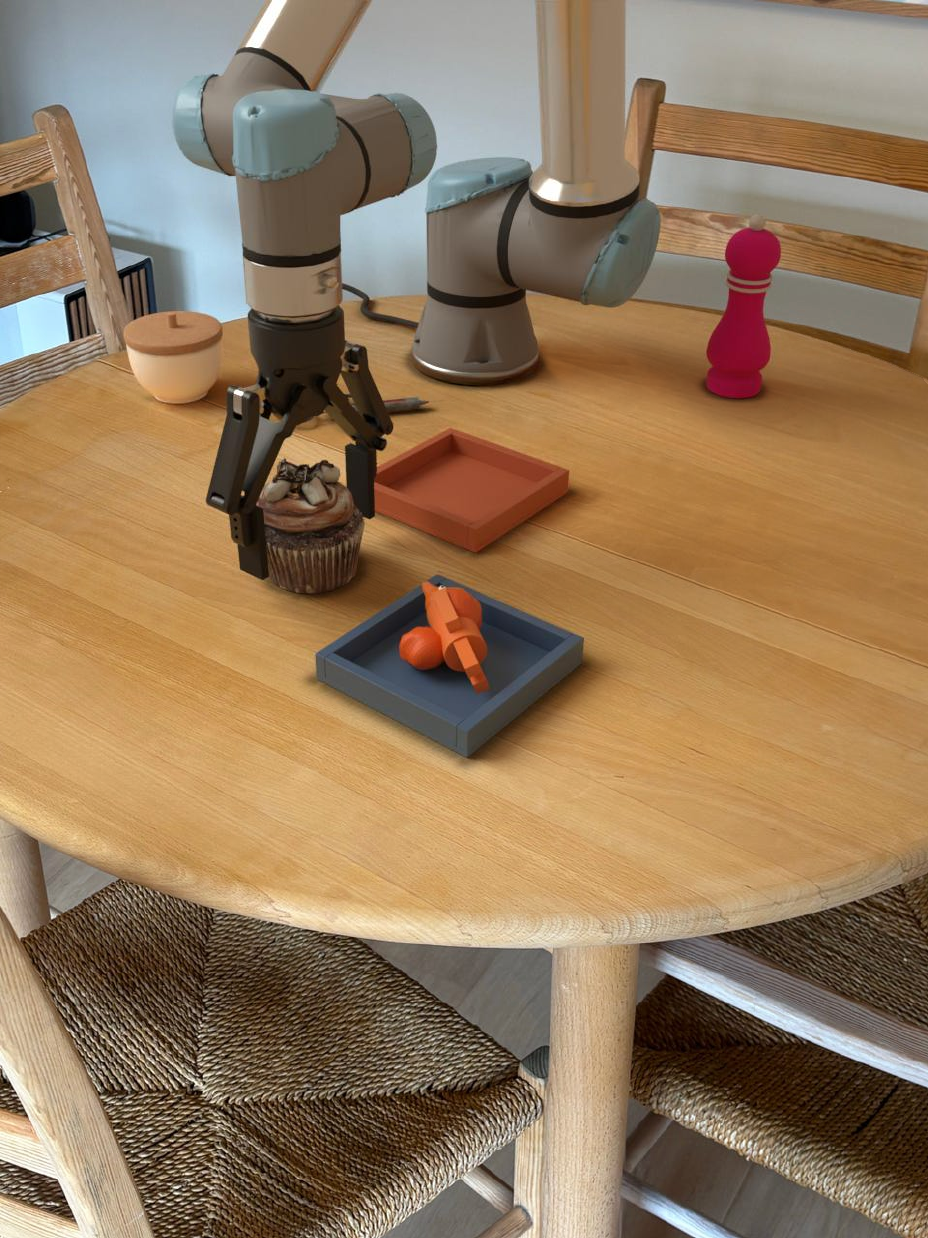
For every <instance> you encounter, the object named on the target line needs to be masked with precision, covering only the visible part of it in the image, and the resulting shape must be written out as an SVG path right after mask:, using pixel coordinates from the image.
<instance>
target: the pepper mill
mask: <svg viewBox="0 0 928 1238" xmlns="http://www.w3.org/2000/svg"><path fill="white" fill-rule="evenodd" d="M766 222H767V220H766V217H764V216H763V215H761V214H754V215H752V216H751V217H750V219H749V221H748V226H749V227H745V228H742V229H740V230H738V231H736V232H735V233H734V234H732V235H731V236H730V238H729V240H728V241H727V243H726V247H725V250H724V260H725V263H726V264H727V266H728V267H729V270H727V272H726V280H725V285H726V287H727V288H728V298H727V302H726V303H727V304H726V307H725V310H724V313H723V315H722V317H721V319H720V320H719V322H718V323H717V325H716V326H715V328H714V330H713V331H712V333H711V335H710V337H709V339H708V342H707V346H706V350H705V354H706V355H705V356H706V358H707V361H708V362H709V364H710V365H711V366H712V367H710V368H709V369H708V370H707V376H706V384H705V385H706V389H707V390H708V391H710V392H711V393H713V394H715V395H717V396H720V397H723V398H731V399H748V398H752V397H755V396H757V395H758V394H759V393H760V391H761V390H762V382H763V375H762V372H761V371H762V370H763V369H764V368H765V367H766V366H767V365H768V364H769V362H770V359H771V353H772V351H771V350H772V345H771V338H770V336H769V332H768V328H767V324H766V321H765V316H764V307H765V306H764V304H765V298H766V294H767V292H769V291H770V290H771V288H772V281H773V278H774V277H773V275H772V272H773V270H775V269H776V268H777V267H778V265H779V264H780V261H781V258H782V247H781V243H780V240H779V239H778V237H777V236H776V235H775V234H774V233H773V232H771V231H770V230H768V229H765V228H766V225H767V223H766Z"/></svg>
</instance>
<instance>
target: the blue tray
mask: <svg viewBox="0 0 928 1238" xmlns="http://www.w3.org/2000/svg"><path fill="white" fill-rule="evenodd" d="M426 581H428V582H430V583H431V584H432V585H434V586H436V587H440V586H445V587H459V588H462V589H464V590H465V591H466V592H468V593H469V594H470V595H472V596H473V598H475V599H476V600H478V601H479V603H480V605H481V609H482V625H481V627H480V629H479V631H480V633H481V635H482V637H483V639H484V641H485V643H486V646H487V654H486V657H485V659H484V660H483V662H482V663H481V664H480V666H481V669H482V671H483V673H484V675H485V677H486V679H487V682H488V684H489V687H490V689H489V690H486V691H484V692H482V693H479V694H476V691H475V689H474V687H473V685H472V682H471V680H470V678H468V676H467V674H466V671H455V670H453V669H451V668H450V667H449V666H448V665H447V664H446V662H445V660H444V661H443V662H442V663H441V664H440V665H439V666H437V667H435V668H432V669H428V670H419V669H417V668H415V667H413V666H410V665H408V664H407V663H406V662H405V661H404V660H403V659H402V658H401V657H400V650H399V645H400V642H401V639H402V636H403V635H404V634H406V633H408V632H410V631H411V630H413V629H414V628H416V627H430V624H429V622H428V619H427V611H426V608H425V602H426V597H425V595H424V592H423V590H422V583H421V584H419V585H418V586H417V587H415V588H413V589H412V590H410V591H409V592H407V593H406V594H404V595H402V596H401V597H400V598H398V599H396V600H395V601H393V602H392V603H390V604H389V605H387V606H386V607H385V608H383V609H381V610H380V611H378V612H377V613H375V614H373V615H372V616H370V617H369V618H367V619H366V620H364V621H363V622H361V623H360V624H359V625H357V626H355V627H353V628H352V629H351V630H349V631H348V632H346V633H344V634H343V635H341V636H340V637H339V638H337V639H335V640H334V641H332V642H331V643H329V644H328V645H326V646H324V647H323V648H322V649H320V650H318V651H317V652H315V654H314V658H315V670H316V680H318V681H319V682H321V683H324V684H326V685H327V686H329V687H330V688H333V689H335V690H336V691H339V692H341V693H342V694H344V695H347V696H348V697H350V698H352V699H354V700H356V701H358V702H360V703H361V704H364V705H366V706H367V707H369V708H371V709H372V710H375V711H377V712H379V713H381V714H383V716H387V717H388V718H390V719H392V720H394V721H396V722H398V723H400V724H402V725H404V726H405V727H406V728H407V727H408V728H409V729H412V730H413V731H415V732H417V733H419V734H420V735H422V736H425V737H427V738H428V739H431V740H433V742H436V743H438V744H440V745H442V746H444V747H446V748H447V749H449V750H451V751H453V752H455V753H457V754H459V755H461V756H462V757H464V758H466V759H467V758H470V757H471V756H472V754H474V753H475V752H476V751H478V750H479V749H480V748H481V747H482V746H484V745H485V744H486V743H487V742H489V740H491V739H492V738H493V737H494V736H495V735H497V734H498V733H499V732H500V731H502V730H503V729H504V728H505V727H506V726H508V725H509V724H510V723H511V722H512V721H514V720H515V719H516V718H517V717H519V716H520V715H521V714H523V712H525V711H526V710H527V709H529V708H530V707H531V706H532V705H533V704H534V703H535V702H537V701H538V700H539V699H540V698H542V697H543V696H544V695H545V694H547V693H548V692H549V691H550V690H551V689H553V687H555V686H556V685H558V684H559V683H560V682H561V681H562V680H564V678H566V677H567V676H568V675H570V674H571V673H572V672H573V671H574V670H575V669H577V668H578V667H579V666H580V665H582V664H583V658H584V645H585V637H583V636H581V635H579V634H577V633H574V632H571V631H570V630H567V629H565V628H562V627H560V626H557V625H555V624H553V623H551V622H549V621H547V620H545V619H542V618H540V617H537V616H536V615H532V614H530V613H528V612H526V611H523V610H521V609H519V608H517V607H514V606H512V605H510V604H508V603H505V602H503V601H501V600H498V599H496V598H493V597H491V596H489V595H487V594H485V593H482V592H480V591H478V590H476V589H473V588H470V587H468V586H466V585H463V584H461V583H459V582H457V581H454V580H452V579H450V578H448V577H446V576H444V575H441V574H439V573H436V574H435V575H434V576H432V577H430V578H429V579H427V580H426ZM430 628H431V627H430Z"/></svg>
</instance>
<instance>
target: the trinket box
mask: <svg viewBox="0 0 928 1238" xmlns="http://www.w3.org/2000/svg"><path fill="white" fill-rule="evenodd" d="M122 334H123V340H124V343H125V347H126V354H127V358H128V361H129V364H130V368H131V370H132V373H133V375H134V377H135V379H136V380H137V382H138V383H139V384H140V385H141V387H142V388H143V389H144V390H145V391H147V392H148V393H150V394H151V395H152V396H153V398H154V399H155V400H157V401H158V402H160V403H165V404H170V405H171V404H172V405H178V404H179V405H180V404H182V405H183V404H189V403H194V402H197V401H199V400H201V399H203V398H205V397H206V396H207V395H208V393H209V390H210V389H211V388H212V387H213V386H214V385H215V383H216V382H217V381H218V378H219V376H220V373H221V371H222V367H223V361H224V348H223V347H224V345H223V344H224V343H223V325H222V323H221V321H220V320H218V319H217V318H216V317H214V316H212V315H209V314H206V313H202V312H197V311H189V310H188V311H187V310H173V311H172V310H171V311H162V312H154V313H150V314H147V315H143V316H141V317H138V318H136V319H133V320H132V321H130V322H129V323H127V325H126V326H125V327H124V329H123V332H122Z"/></svg>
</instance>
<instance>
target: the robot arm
mask: <svg viewBox="0 0 928 1238" xmlns="http://www.w3.org/2000/svg"><path fill="white" fill-rule="evenodd" d="M373 1H374V0H265V2H264V4H263V5H262V7H261V9H260V10H259V12H258V14H257V15H256V17H255V19H254V20H253V22H252V24H251V25H250V27H249V29H248V31H247V32H246V34H245V36H244V38H243V39H242V40H241V42H240V44H239V46H238V48H237V50H236V52H235V54H234V55H233V57H232V58H231V60H230V61H229V63H228V65H227V67H226V68H225V69H224V72H223V73H222V74H221V75H219V74H218V73H209V74H208V75H206V74H199V75H197V76H194V77H192V78H191V79H190V80H188V81H185V83H183V84H182V86H181V87H180V89H179V90H178V93H177V94H176V97H175V99H174V103H173V107H172V111H171V112H172V114H171V125H172V132H173V136H174V140H175V142H176V145H177V147H178V149H179V150H180V152H181V153H182V154H183V156H184V157H185V158H186V159H187V160H188V161H190V162H191V163H192V164H194V165H196V166H198V167H200V168H204V169H207V170H209V171H213V172H215V173H219V174H222V175H224V176H227V177H235V183H236V194H237V204H238V213H239V221H240V222H239V223H240V232H241V233H240V234H241V247H242V263H243V264H242V266H243V276H244V290H245V291H244V292H245V304H247V306H248V307H249V308H250V309H249V311H248V313H247V325H248V338H249V348H250V353H251V355H252V357H253V359H254V361H255V363H256V365H257V369H258V372H257V377H256V380H255V384H252V385H248V386H245V387H241V386H240V385H239V386H238V385H236V384H232V385H230V386H228V387H227V390H226V417H225V419H224V420H225V421H224V425H223V428H222V433H221V436H220V441H219V443H218V448H217V453H216V457H215V461H214V465H213V469H212V473H211V476H210V481H209V484H208V488H207V493H206V497H205V504H206V505H207V506H209V507H211V508H213V509H215V510H217V511H219V512H222V513H223V514H226V515H228V519H229V529H230V538H231V541H232V542H233V544H237V553H238V554H237V555H238V563H239V565H238V566H239V570H240V571H242V572H244V573H246V574H249V575H250V576H253V577H254V578H256V579H259V580H260V581H264V580H266V579H268V578H270V577H269V571H268V560H267V548H266V536H265V524H264V512H263V508H261V507H258V506H256V503H257V501H258V499H259V496H260V494H261V492H262V490H263V487H264V485H266V484H267V483H266V482H267V480H268V478H269V476H270V474H271V471H272V469H273V467H274V465H275V462H276V460H277V458H278V455H279V453H280V450H281V449H282V446H283V445H284V442H285V440H286V439H288V438H290V437H292V435H293V433H294V431H295V428H296V426H300V425H301V424H304V422H305V421H306V420H308V419H309V418H310V417H313V418H315V417H319V416H321V415H323V414H327V415H328V416H329V417H330V418H331V419H332V420H333V421H334V422H335V423H336V425H337V426H338V427H340V429H341V430H342V431H343V432H344V433H345V434H346V435H347V436H348V437H349V438H350V439H351V440H352V441H353V442H355V444H354V443H352V442H350V443H348V444H346V445H344V457H345V460H344V461H345V481H346V483H345V484H346V485H345V486H346V487H347V488H348V490H349V491H350V492H351V495H352V498H353V502H354V505H355V506H356V507H357V508H358V509H359V512H362V513H361V515H362V516H364V517H363V518H364V519H368V520H372V519H373V518H375V517H376V511H375V495H374V478H375V477H376V474H377V467H378V462H377V461H378V457H377V454H378V453H377V451H378V452H383V451H384V450H385V449H386V447H387V446H388V445H387V444H388V440H387V438H384V437H383V436H385V435H386V436H389V435H391V434H392V433H393V432H394V422H393V419H392V418H391V415H390V413H389V412H388V411H387V409H386V407H385V404H384V402H383V400H384V399H383V398H382V395H381V392H380V391H379V388H378V386H377V384H376V382H375V379H374V377H373V375H372V373H371V372H372V371H371V370H370V367H369V357H368V356H369V355H368V349H367V347H366V346H365V345H361V344H359V343H356V342H352V341H349V340H346V332H345V331H346V330H345V312H344V309H343V308H342V307H341V306H340V304H342V302H343V298H344V297H343V296H344V294H343V290H344V291H346V292H349V293H351V294H354V295H355V296H357V297H359V298H360V299H361V300H363V301H362V302H361V304H360V307H359V310H360V313H362V315H364V316H365V317H367V318H370V319H374V320H378V321H383V322H389V323H394V324H398V325H403V326H407V327H409V328H413V329H416V331H415V334H414V337H413V339H412V340H413V341H412V346H411V360H412V361H411V362H412V364H413V366H414V367H415V369H417V370H418V371H419V372H421V373H422V374H424V375H426V376H428V377H431V378H433V379H435V380H438V381H441V382H446V383H452V384H458V385H468V386H469V385H472V386H473V385H474V386H479V385H480V386H483V385H495V384H503V383H508V382H512V381H515V380H518V379H521V378H524V377H525V376H527V375H529V374H531V373H532V372H533V371H535V370H536V368H537V366H538V364H539V355H540V354H539V353H540V351H539V349H540V348H539V342H538V339H537V337H536V335H535V331H534V326H533V321H532V318H531V314H530V310H529V307H528V302H527V291H529V292H534V293H538V294H543V295H547V296H550V297H555V298H556V297H557V298H560V299H565V300H569V301H573V302H579V303H581V305H582V306H590V305H592V306H596V307H603V308H608V309H609V308H611V309H612V308H617V307H620V306H623V305H624V304H626V303H627V302H628V301H629V300H630V299H631V298H632V297H633V296H634V295H635V294H636V293H637V292H638V290H639V288H640V287H641V285H642V284H643V282H644V280H645V279H646V276H647V275H648V272H649V270H650V268H651V265H652V262H653V260H654V257H655V254H656V252H657V251H656V250H657V248H658V244H659V238H660V234H661V233H660V232H661V225H662V224H661V222H662V221H661V220H662V219H661V212H660V209H659V207H658V205H657V204H656V203H655V202H653V201H651V200H650V199H648V198H647V197H644V198H642V199H641V197H640V195H641V194H640V173H639V171H638V169H637V168H636V167H635V166H634V165H633V164H632V163H631V162H630V161H628V160H627V159H626V13H627V12H626V10H627V9H626V0H534V7H535V31H536V53H537V55H536V56H537V77H538V99H539V122H540V126H539V127H540V142H541V143H540V144H541V145H540V146H541V164H540V165H539V166H538V167H537V168H536V169H535V170H534V171H533V169H532V164H531V162H530V161H528V160H525V159H524V158H520V157H511V156H509V157H508V156H504V157H503V156H500V157H499V156H495V157H481V158H473V159H467V160H461V161H457V162H453V163H450V164H447V165H444V166H442V167H440V168H438V169H436V170H435V171H434V172H433V173H432V174H431V175H430V177H429V179H428V182H427V189H426V190H427V191H426V204H425V208H424V213H426V214H425V215H426V217H425V219H426V220H425V221H426V226H425V227H426V298H425V299H426V300H425V303H424V306H423V309H422V312H421V315H420V318H419V321H418V322H417V321H413V320H409V319H405V318H401V317H397V316H393V315H388V314H384V313H383V314H382V313H377V312H373V311H371V310H369V309H367V307H368V306H369V304H370V297H369V295H368V294H367V293H366V292H363V291H362V290H360V289H358V288H356V287H354V286H352V285H349V284H346V283H343V272H342V271H343V270H342V237H341V236H342V235H341V216H343V215H344V216H345V215H346V214H349V213H351V212H353V211H356V210H358V209H361V208H363V207H367V206H369V205H372V204H376V203H378V202H381V201H383V200H387V199H389V198H395V197H399V196H401V195H403V194H404V193H405V192H406V191H407V190H409V189H411V188H413V187H415V186H417V185H419V184H420V183H422V182H423V181H424V180H425V179H426V178H427V177H428V176H429V174H430V173H431V172H432V170H433V167H434V165H435V163H436V158H437V151H438V142H437V141H438V140H437V139H438V138H437V131H436V129H435V125H434V122H433V121H432V118H431V117H430V114H428V112H427V110H426V109H425V107H424V106H423V105H421V103H419V101H417V100H416V99H414V98H413V97H412V96H409V95H407V94H405V93H399V92H392V93H391V92H390V93H385V94H384V93H375V94H373V95H369V97H368V98H352V97H346V96H340V95H333V94H327V93H321V91H322V90H323V88H324V86H325V84H326V83H327V81H328V79H329V78H330V76H331V74H332V72H333V70H334V69H335V67H336V65H337V64H338V62H339V60H340V58H341V57H342V55H343V53H344V51H345V49H346V48H347V46H348V45H349V43H350V41H351V39H352V37H353V36H354V34H355V32H356V30H357V28H358V27H359V24H360V23H361V22H362V20H363V18H364V16H365V15H366V13H367V11H368V9H369V8H370V6H371V5H372V2H373ZM340 375H341V378H342V380H343V382H344V383H345V384H344V385H345V386H346V388H347V391H348V392H349V393H350V395H351V397H352V398H351V399H352V401H353V403H355V406H356V408H357V410H358V412H359V413H358V412H357V411H356V410H355V409H354V408H353V406H352V405H351V404H350V403H351V402H350V398H348V397H347V396H346V395H345V394H346V393H344V392H343V390H342V389H341V388H340V387H339V386H338V381H339V378H340ZM325 411H326V413H324V412H325ZM271 415H273V416H274V417H275V418H276V419H278V420H280V422H276V421H273V420H271V419H270V418H271ZM243 493H244V494H243ZM242 494H243V495H242Z"/></svg>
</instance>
